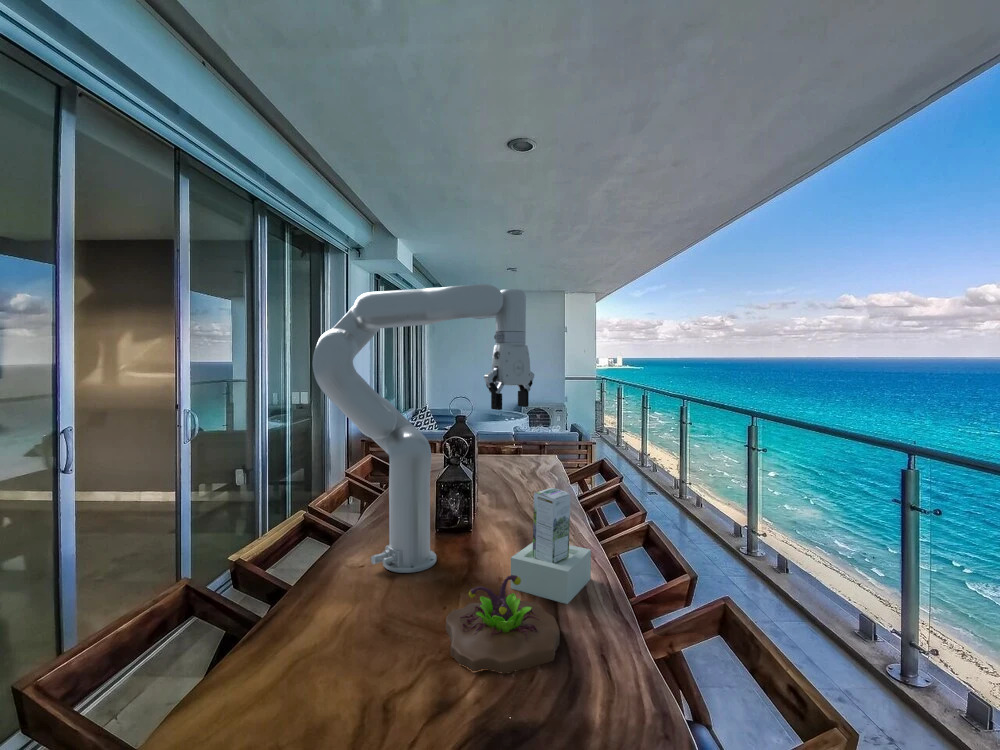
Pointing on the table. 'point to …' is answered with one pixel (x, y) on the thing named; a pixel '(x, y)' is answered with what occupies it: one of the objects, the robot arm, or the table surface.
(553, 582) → the sage block
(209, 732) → the table surface
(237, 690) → the table surface
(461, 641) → the plant
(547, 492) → the syrup box
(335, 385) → the robot arm
